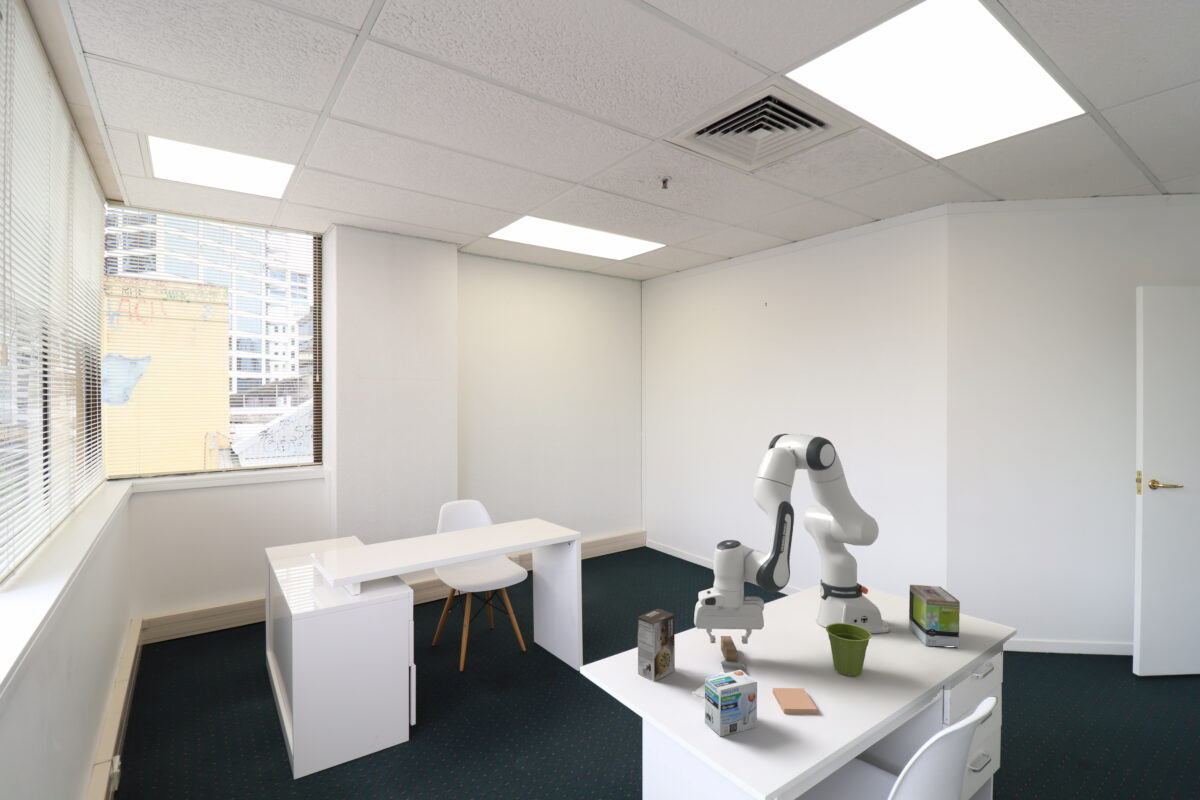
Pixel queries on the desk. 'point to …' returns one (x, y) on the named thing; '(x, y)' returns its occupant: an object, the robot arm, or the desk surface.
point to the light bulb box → (730, 702)
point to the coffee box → (656, 644)
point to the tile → (794, 701)
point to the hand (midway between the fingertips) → (728, 642)
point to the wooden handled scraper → (730, 656)
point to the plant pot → (848, 647)
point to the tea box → (934, 615)
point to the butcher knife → (701, 690)
